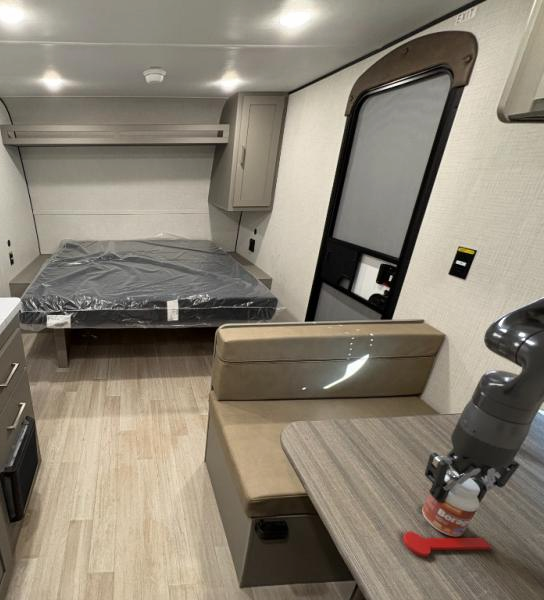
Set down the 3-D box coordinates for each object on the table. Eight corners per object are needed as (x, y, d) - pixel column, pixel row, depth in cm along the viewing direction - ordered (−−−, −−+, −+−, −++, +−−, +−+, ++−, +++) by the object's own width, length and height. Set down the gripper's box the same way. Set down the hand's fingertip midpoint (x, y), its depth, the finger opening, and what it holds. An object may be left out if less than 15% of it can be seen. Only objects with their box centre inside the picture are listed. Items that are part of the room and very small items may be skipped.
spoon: (476, 534, 60) (477, 531, 60) (496, 556, 57) (498, 553, 56) (398, 534, 60) (399, 531, 60) (414, 556, 57) (415, 554, 56)
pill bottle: (428, 530, 61) (448, 490, 57) (416, 502, 66) (434, 463, 62) (469, 543, 59) (494, 502, 55) (454, 512, 64) (475, 473, 60)
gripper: (468, 448, 50) (433, 518, 56) (558, 447, 50) (513, 518, 57) (428, 414, 57) (401, 481, 63) (507, 414, 57) (472, 480, 63)
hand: (454, 498), depth 60 cm, fingers closed on pill bottle, 6 cm apart
